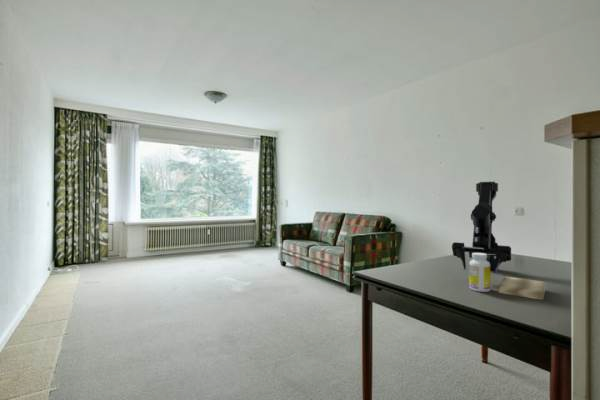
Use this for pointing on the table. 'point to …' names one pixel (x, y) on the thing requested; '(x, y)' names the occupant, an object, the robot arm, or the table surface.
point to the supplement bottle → (479, 273)
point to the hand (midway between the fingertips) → (479, 270)
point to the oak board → (523, 287)
